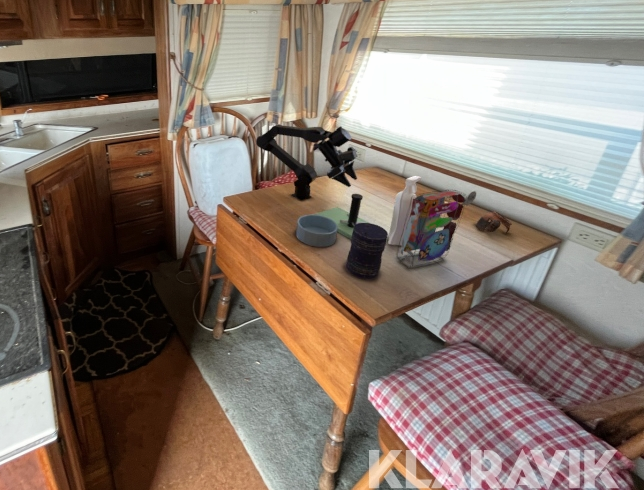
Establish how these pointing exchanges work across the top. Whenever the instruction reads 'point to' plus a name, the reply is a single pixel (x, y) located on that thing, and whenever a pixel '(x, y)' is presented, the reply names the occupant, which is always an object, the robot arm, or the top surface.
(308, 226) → the bowl
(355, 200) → the black post stand
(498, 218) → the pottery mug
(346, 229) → the cutting board
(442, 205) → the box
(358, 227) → the storage jar
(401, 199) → the white pump bottle
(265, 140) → the robot arm
